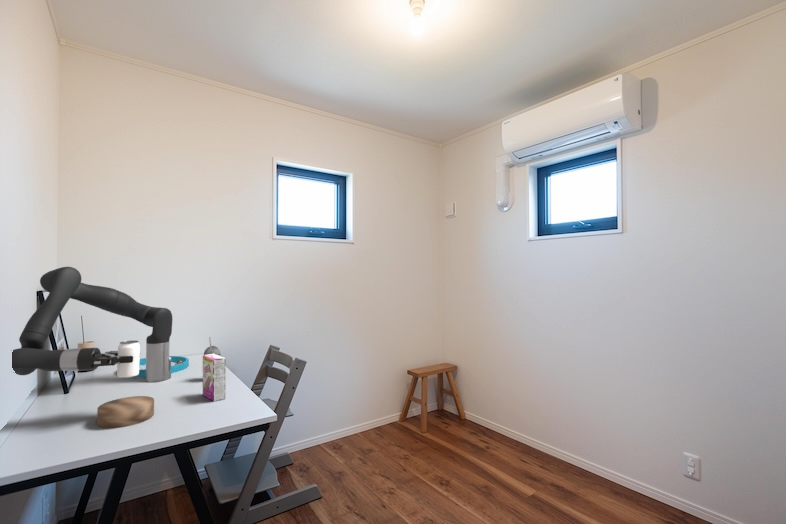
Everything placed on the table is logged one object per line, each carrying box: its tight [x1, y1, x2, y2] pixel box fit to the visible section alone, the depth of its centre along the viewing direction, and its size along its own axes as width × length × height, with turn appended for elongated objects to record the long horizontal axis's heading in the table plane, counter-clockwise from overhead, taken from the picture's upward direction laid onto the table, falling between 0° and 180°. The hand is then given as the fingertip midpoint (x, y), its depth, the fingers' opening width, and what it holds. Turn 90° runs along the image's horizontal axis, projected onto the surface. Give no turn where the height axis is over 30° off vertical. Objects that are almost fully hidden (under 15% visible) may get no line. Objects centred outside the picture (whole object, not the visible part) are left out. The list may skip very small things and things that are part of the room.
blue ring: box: [134, 355, 190, 378], centre depth 197 cm, size 30×30×6 cm
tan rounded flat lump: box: [96, 395, 155, 429], centre depth 132 cm, size 16×16×5 cm
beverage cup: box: [203, 336, 221, 356], centre depth 178 cm, size 7×7×20 cm
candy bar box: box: [202, 354, 226, 402], centre depth 154 cm, size 11×5×16 cm, turn 47°
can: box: [116, 340, 141, 379], centre depth 137 cm, size 6×6×12 cm
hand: (136, 357), depth 138 cm, fingers closed on can, 6 cm apart
